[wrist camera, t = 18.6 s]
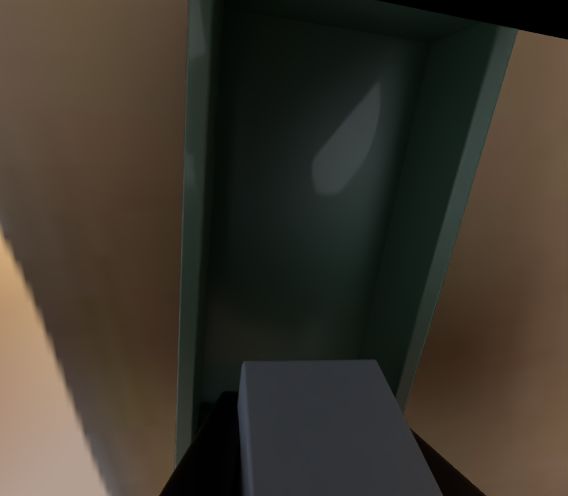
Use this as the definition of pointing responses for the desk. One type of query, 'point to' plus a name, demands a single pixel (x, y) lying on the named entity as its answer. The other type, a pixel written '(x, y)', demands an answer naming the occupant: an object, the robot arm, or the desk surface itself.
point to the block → (325, 432)
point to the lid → (503, 13)
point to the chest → (322, 183)
